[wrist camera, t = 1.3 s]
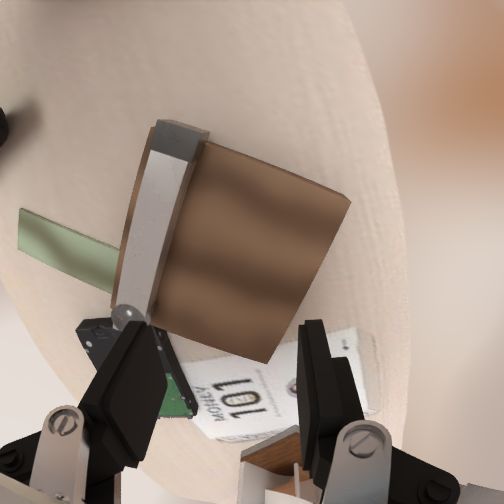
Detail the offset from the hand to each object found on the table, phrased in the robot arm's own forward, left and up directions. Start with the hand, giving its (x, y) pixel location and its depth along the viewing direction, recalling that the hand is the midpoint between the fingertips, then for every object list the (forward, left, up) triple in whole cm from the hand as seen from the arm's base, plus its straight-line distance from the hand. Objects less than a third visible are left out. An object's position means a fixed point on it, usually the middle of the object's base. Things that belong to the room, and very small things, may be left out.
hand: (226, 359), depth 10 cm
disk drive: (+22, -6, -18) cm, 29 cm away
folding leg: (+3, -6, -14) cm, 16 cm away
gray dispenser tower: (+31, +19, -18) cm, 40 cm away
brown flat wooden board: (+4, -8, -17) cm, 20 cm away
